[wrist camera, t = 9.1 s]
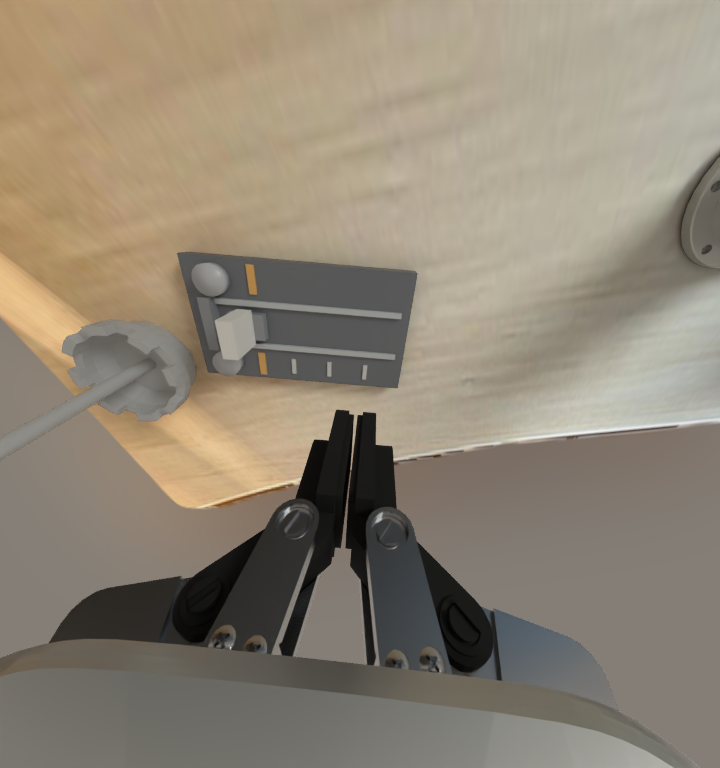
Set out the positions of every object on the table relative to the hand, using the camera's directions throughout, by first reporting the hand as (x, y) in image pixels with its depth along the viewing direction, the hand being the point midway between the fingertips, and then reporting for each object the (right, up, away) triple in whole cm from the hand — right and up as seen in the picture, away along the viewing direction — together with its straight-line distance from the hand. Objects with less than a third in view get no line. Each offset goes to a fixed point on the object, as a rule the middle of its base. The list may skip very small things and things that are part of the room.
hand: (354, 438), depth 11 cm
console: (-7, +10, +21) cm, 24 cm away
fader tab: (-13, +9, +19) cm, 24 cm away
